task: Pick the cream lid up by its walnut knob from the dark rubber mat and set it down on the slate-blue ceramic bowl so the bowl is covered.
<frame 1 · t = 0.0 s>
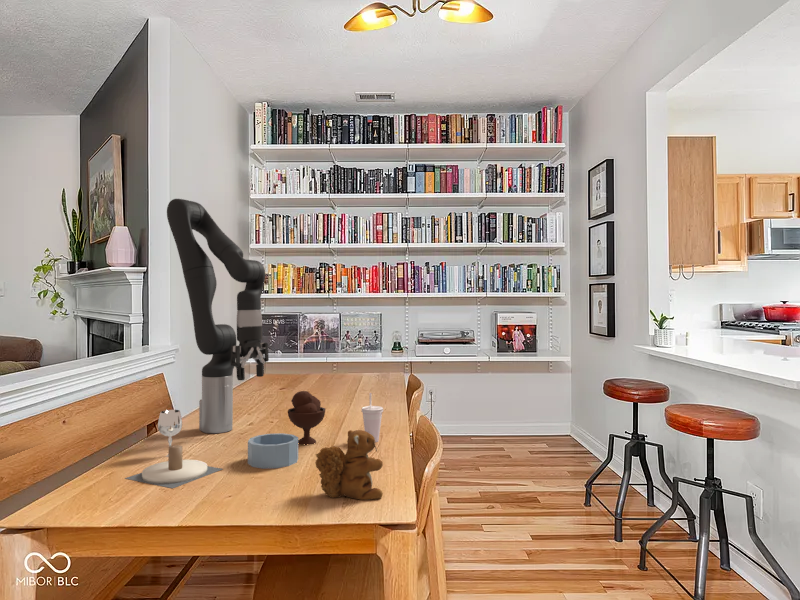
hand: (250, 378, 165), 17 cm above the table, tool pointing down, fingers open, 8 cm apart
bowl: (273, 463, 136), on the table
ice cream bowl: (306, 443, 156), on the table
stuffed squirrel: (349, 494, 115), on the table
mat: (175, 476, 126), on the table
lid: (175, 473, 126), point 1 cm above the table, touching mat
wineglass: (170, 458, 141), on the table
smoothie: (372, 441, 158), on the table
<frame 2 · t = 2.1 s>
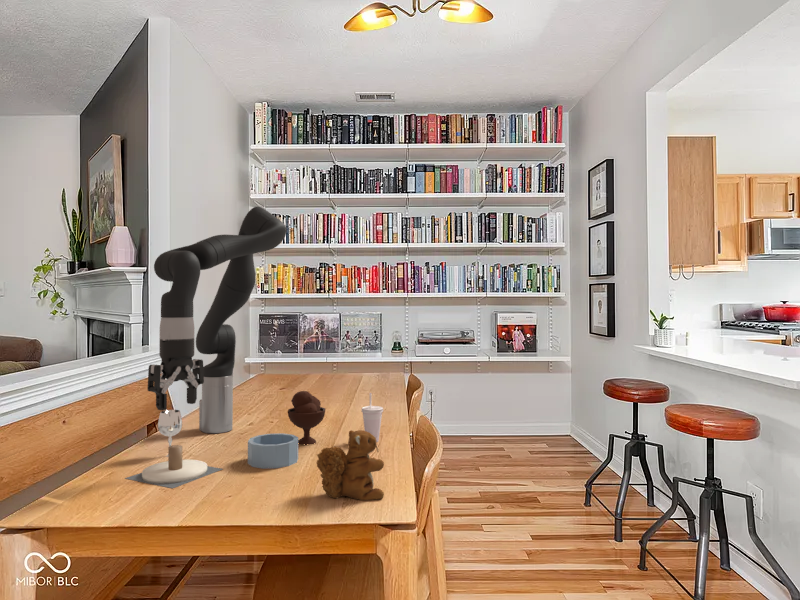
hand: (176, 406, 126), 16 cm above the table, tool pointing down, fingers open, 8 cm apart
nothing on the table moved.
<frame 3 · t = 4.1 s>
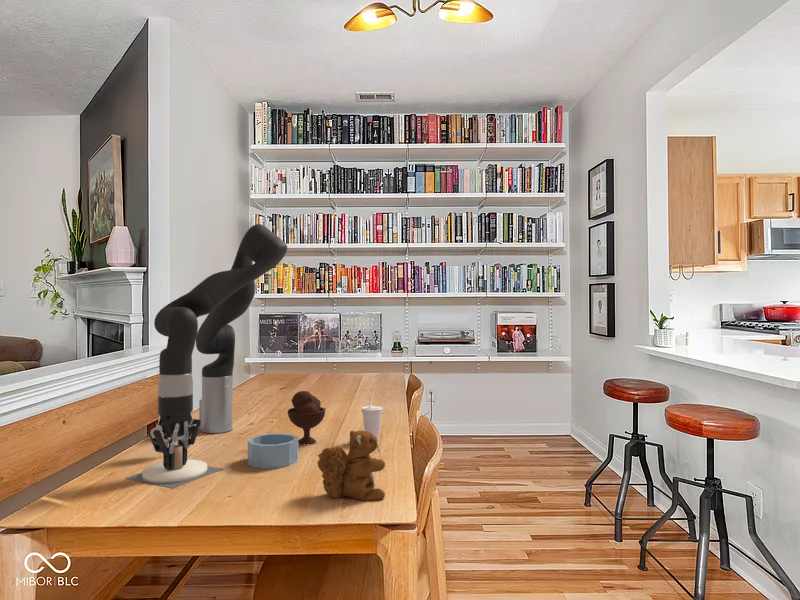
hand: (175, 466, 126), 2 cm above the table, tool pointing down, fingers closed on lid, 3 cm apart
lid: (175, 473, 126), point 1 cm above the table, touching gripper, mat
everything else where it was.
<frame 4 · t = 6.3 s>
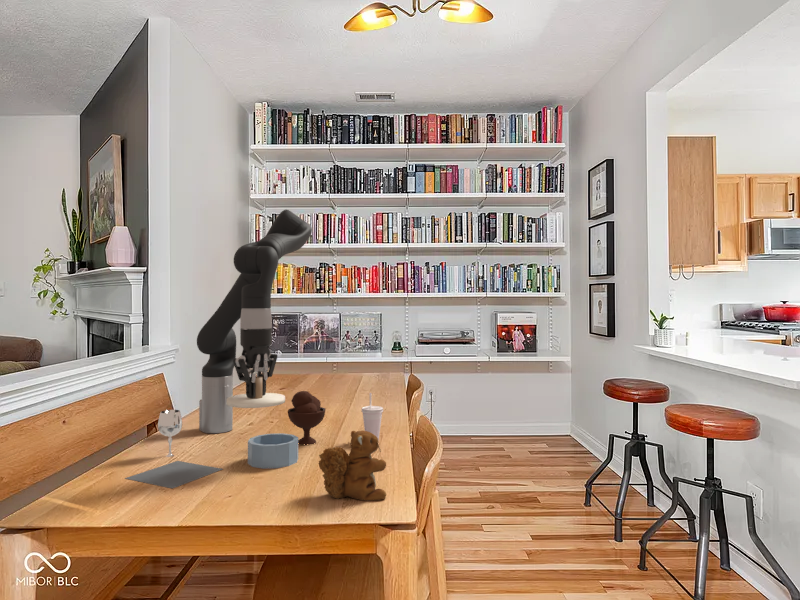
hand: (256, 396, 134), 17 cm above the table, tool pointing down, fingers closed on lid, 3 cm apart
lid: (256, 402, 134), point 16 cm above the table, touching gripper
everything else where it was.
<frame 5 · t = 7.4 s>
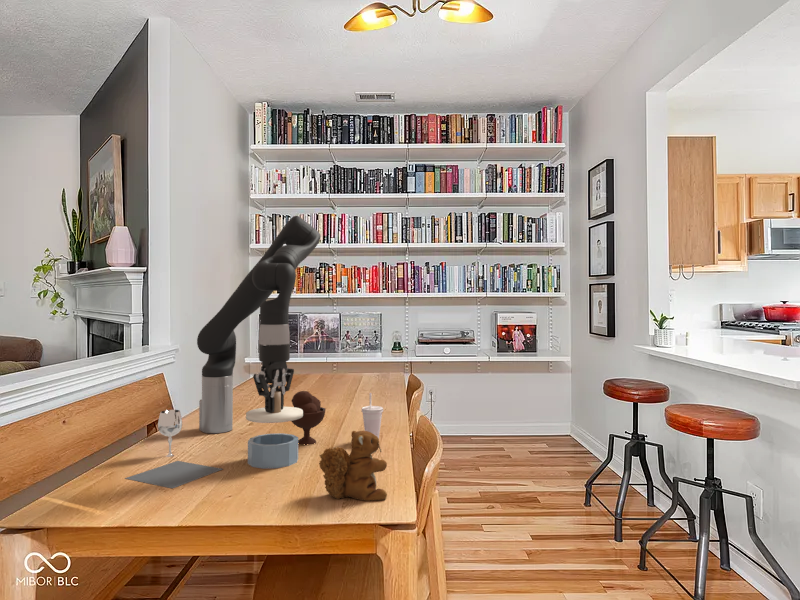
hand: (274, 410, 136), 13 cm above the table, tool pointing down, fingers closed on lid, 3 cm apart
lid: (274, 416, 136), point 12 cm above the table, touching gripper
when the fingers open (9 cm above the table, at t = 8.4 s): lid drops 2 cm, resting on bowl.
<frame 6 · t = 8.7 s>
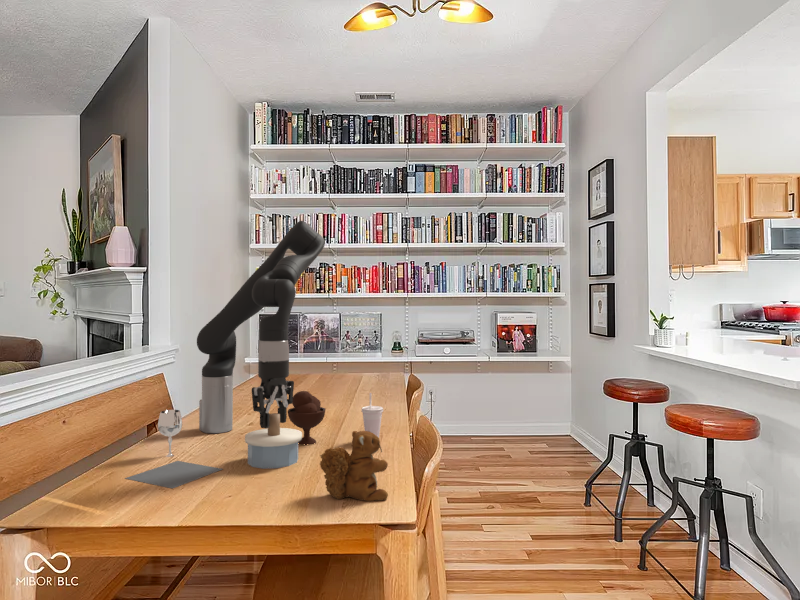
hand: (273, 424, 136), 10 cm above the table, tool pointing down, fingers open, 6 cm apart
lid: (273, 439, 136), point 6 cm above the table, touching bowl
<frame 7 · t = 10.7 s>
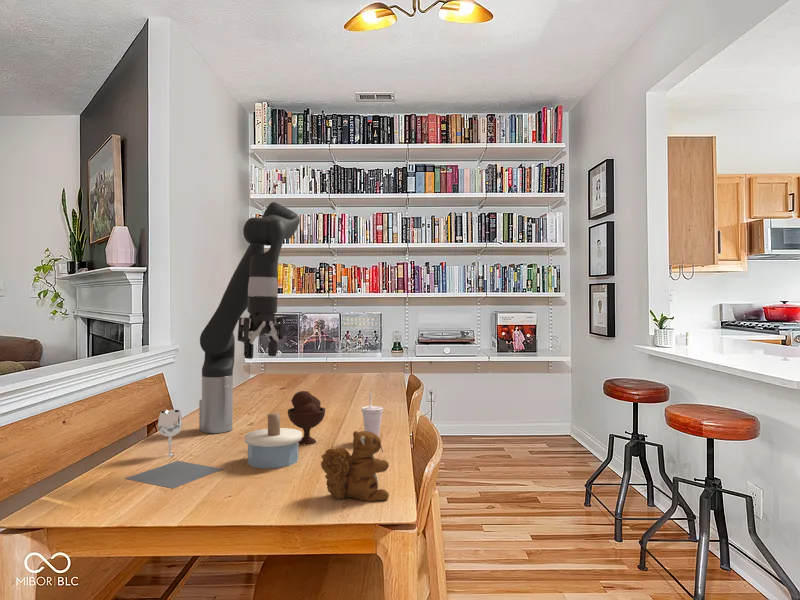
hand: (260, 357, 141), 26 cm above the table, tool pointing down, fingers open, 8 cm apart
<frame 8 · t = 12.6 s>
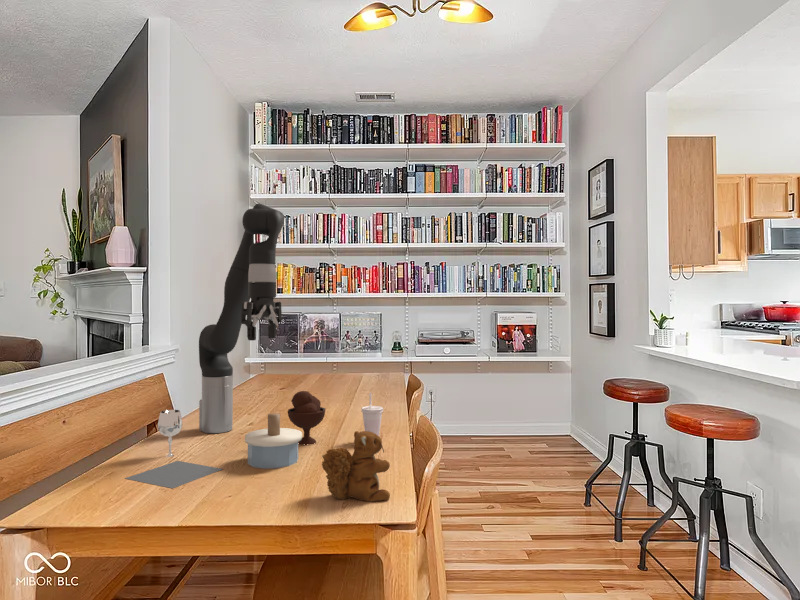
hand: (262, 339, 150), 30 cm above the table, tool pointing down, fingers open, 8 cm apart
at the end: lid 0.1 cm off-centre on the bowl, point 6.0 cm above the bowl's base; lid tilted 0°; the gripper is holding nothing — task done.
